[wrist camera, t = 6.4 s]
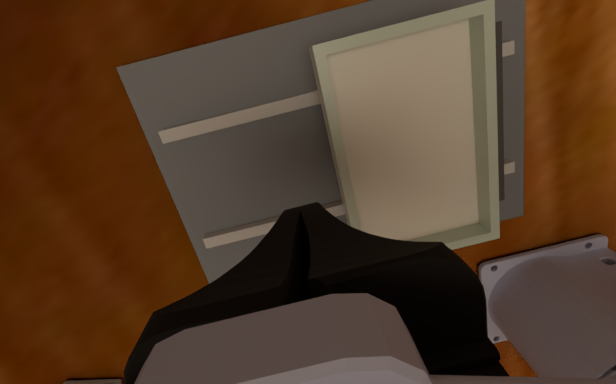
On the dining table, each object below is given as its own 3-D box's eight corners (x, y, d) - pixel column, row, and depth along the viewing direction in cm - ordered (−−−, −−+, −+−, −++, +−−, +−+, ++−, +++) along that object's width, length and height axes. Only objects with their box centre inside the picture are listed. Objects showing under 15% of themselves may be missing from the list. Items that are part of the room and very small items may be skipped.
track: (515, -36, 17) (549, -51, 15) (515, 210, 23) (540, 226, 21) (123, 67, 18) (100, 67, 16) (215, 284, 23) (207, 307, 21)
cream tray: (459, 9, 17) (494, -2, 14) (471, 215, 21) (499, 238, 18) (307, 49, 17) (312, 45, 14) (350, 245, 21) (360, 272, 18)
